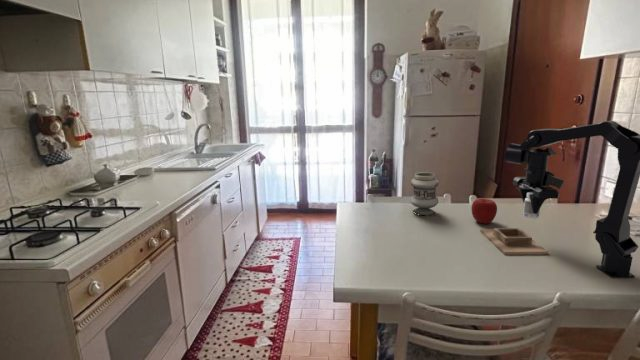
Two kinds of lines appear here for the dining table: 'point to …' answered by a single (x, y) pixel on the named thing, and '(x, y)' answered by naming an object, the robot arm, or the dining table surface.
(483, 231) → the wooden tray with holder
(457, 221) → the dining table surface
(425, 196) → the apothecary jar
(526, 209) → the pill bottle
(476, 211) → the apple
